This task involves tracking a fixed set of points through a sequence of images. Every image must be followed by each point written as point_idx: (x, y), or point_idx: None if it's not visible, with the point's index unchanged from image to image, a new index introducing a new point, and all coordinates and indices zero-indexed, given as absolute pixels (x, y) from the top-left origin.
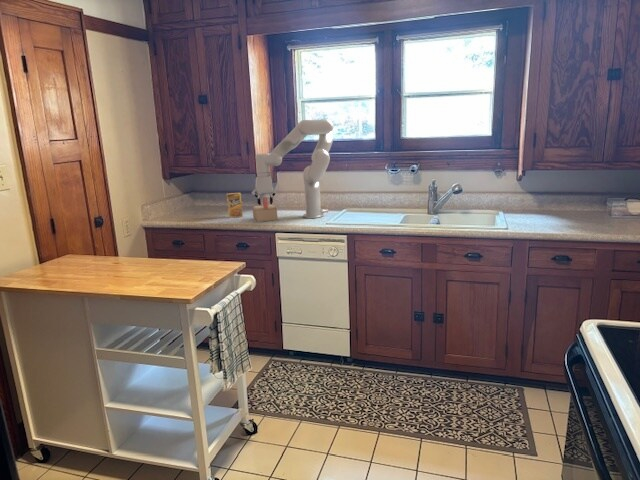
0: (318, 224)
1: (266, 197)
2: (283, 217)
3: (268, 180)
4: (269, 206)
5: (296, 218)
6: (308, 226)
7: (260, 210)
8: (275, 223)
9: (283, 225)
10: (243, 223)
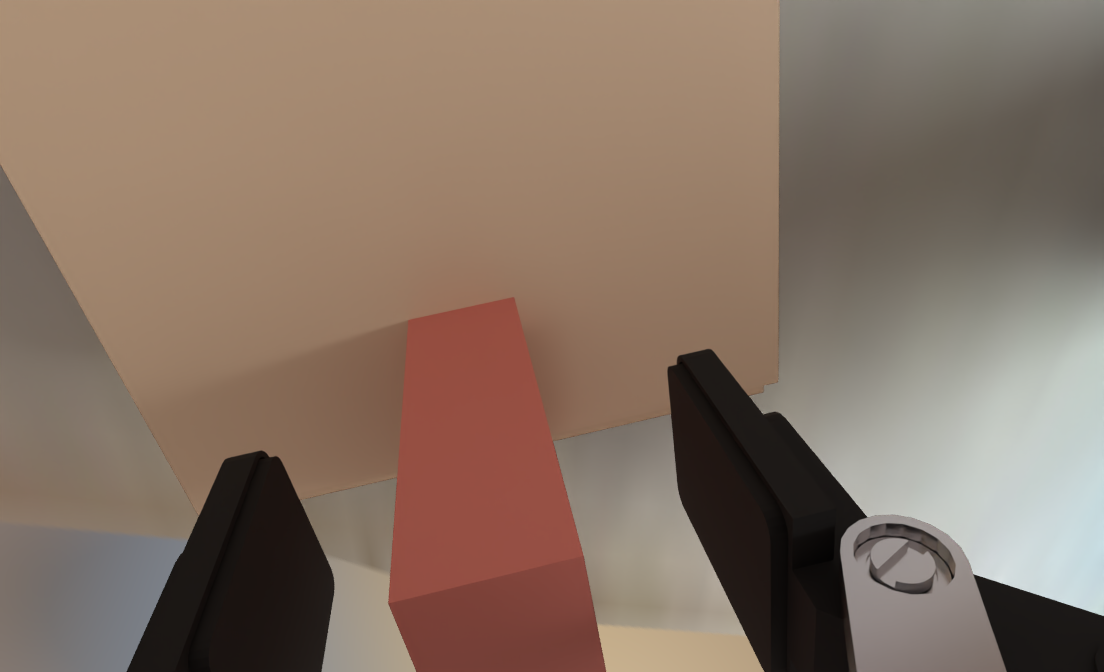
0: (1081, 603)
1: (602, 663)
2: (836, 27)
3: None
4: (612, 123)
5: (1018, 208)
6: None
7: (341, 484)
8: (618, 499)
9: (708, 610)
10: (13, 419)
